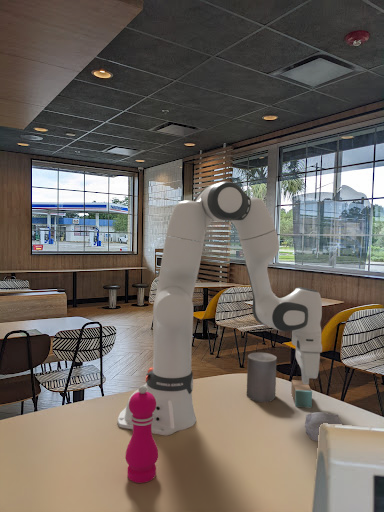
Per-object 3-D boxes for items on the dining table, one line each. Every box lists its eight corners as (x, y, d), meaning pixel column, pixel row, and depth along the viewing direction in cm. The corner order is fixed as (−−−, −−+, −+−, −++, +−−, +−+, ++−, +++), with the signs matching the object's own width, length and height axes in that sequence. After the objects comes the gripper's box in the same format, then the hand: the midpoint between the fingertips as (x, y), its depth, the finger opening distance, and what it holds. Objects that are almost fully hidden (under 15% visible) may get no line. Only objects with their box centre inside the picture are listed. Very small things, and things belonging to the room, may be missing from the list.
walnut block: (295, 391, 123) (291, 380, 133) (295, 406, 123) (291, 394, 133) (312, 392, 123) (306, 380, 133) (311, 407, 123) (306, 395, 133)
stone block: (309, 448, 102) (348, 444, 100) (306, 429, 102) (345, 425, 101) (304, 428, 114) (339, 425, 112) (301, 412, 114) (336, 408, 112)
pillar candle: (243, 391, 135) (244, 348, 135) (270, 390, 137) (271, 348, 136) (250, 402, 126) (251, 357, 125) (279, 401, 127) (280, 356, 126)
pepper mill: (129, 488, 81) (130, 394, 80) (121, 469, 88) (122, 382, 87) (162, 480, 84) (163, 389, 83) (152, 462, 91) (153, 378, 90)
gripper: (291, 331, 132) (290, 371, 132) (301, 347, 112) (299, 394, 112) (310, 332, 131) (309, 372, 132) (323, 348, 111) (322, 395, 111)
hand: (305, 382), depth 122 cm, fingers closed
